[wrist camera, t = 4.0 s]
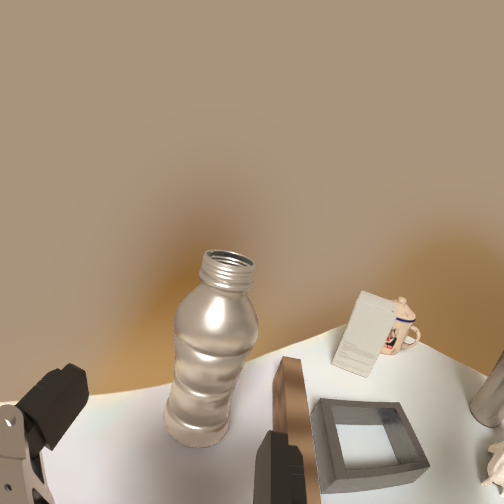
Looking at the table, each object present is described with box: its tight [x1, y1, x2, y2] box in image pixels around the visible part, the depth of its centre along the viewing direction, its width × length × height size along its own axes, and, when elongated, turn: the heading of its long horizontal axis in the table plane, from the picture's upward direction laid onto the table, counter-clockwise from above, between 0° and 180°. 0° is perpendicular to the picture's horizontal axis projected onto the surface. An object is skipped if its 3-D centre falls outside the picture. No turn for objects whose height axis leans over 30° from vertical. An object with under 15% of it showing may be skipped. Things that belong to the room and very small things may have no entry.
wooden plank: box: [273, 356, 321, 504], centre depth 23 cm, size 24×2×5 cm, turn 177°
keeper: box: [310, 398, 430, 494], centre depth 23 cm, size 12×12×4 cm
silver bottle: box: [163, 250, 259, 448], centre depth 22 cm, size 6×7×20 cm
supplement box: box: [331, 290, 397, 378], centre depth 43 cm, size 7×7×13 cm
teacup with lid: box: [380, 297, 420, 355], centre depth 50 cm, size 12×9×12 cm
